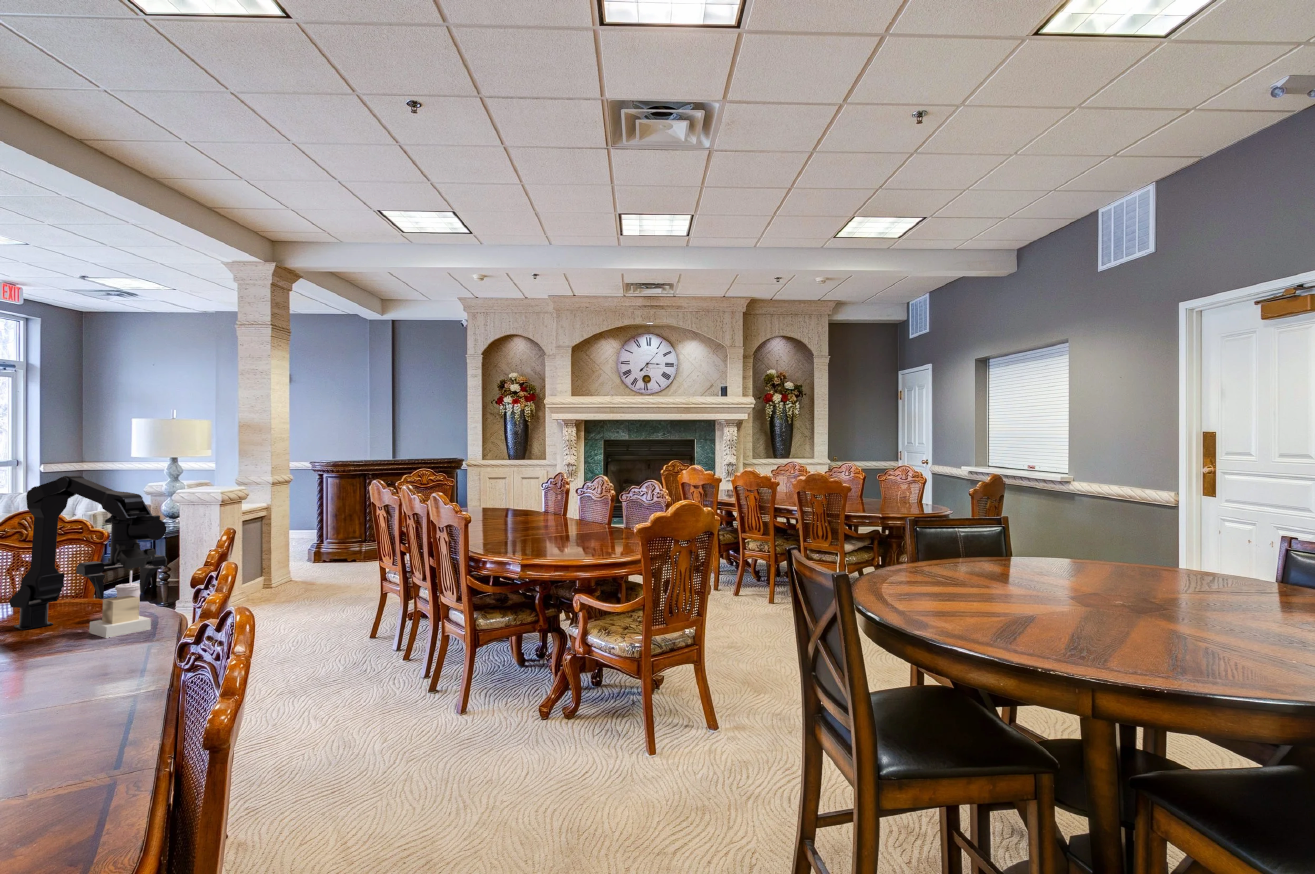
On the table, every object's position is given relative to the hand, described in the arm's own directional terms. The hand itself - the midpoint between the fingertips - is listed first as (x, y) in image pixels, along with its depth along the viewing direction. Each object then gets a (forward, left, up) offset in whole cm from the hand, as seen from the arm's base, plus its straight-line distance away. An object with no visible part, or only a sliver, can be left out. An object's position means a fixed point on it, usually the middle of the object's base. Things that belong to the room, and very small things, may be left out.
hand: (122, 595), depth 175 cm
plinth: (0, 0, -10) cm, 10 cm away
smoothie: (-16, +8, -10) cm, 21 cm away
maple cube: (0, 0, -7) cm, 7 cm away
